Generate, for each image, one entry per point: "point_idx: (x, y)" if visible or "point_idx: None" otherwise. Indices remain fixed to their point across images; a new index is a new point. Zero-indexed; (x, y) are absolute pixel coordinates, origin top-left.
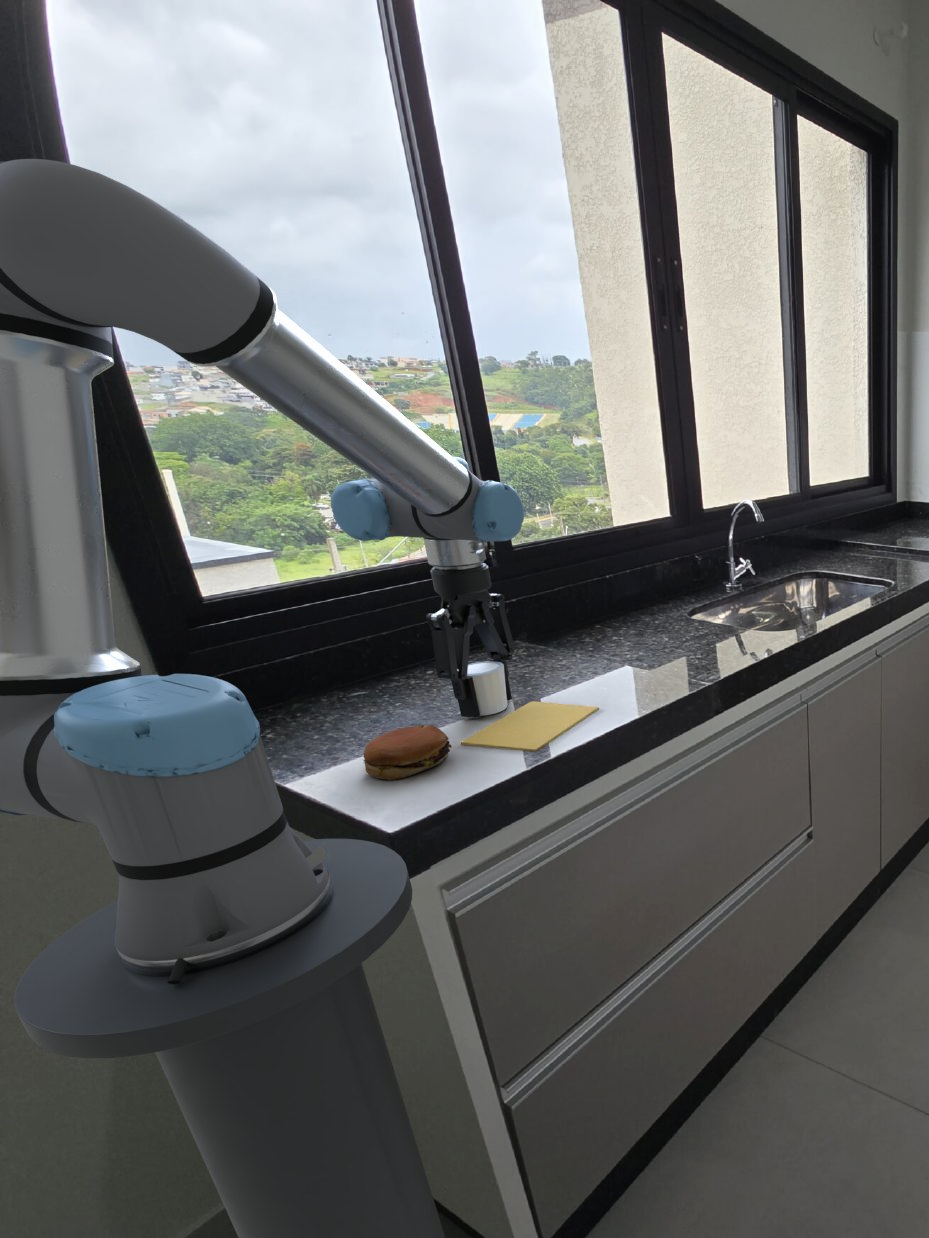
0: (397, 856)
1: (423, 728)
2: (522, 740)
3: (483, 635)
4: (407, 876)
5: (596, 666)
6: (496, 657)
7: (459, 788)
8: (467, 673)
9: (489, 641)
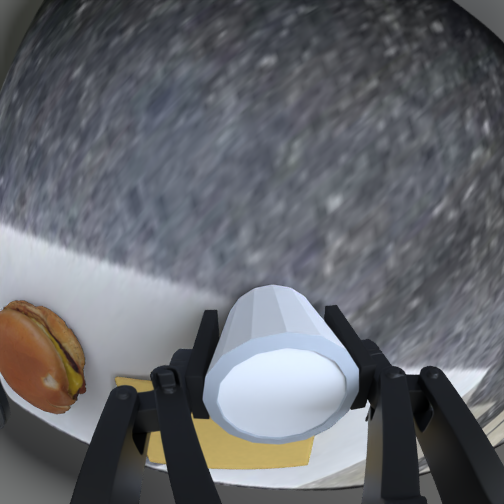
0: (1, 415)
1: (43, 388)
2: (162, 445)
3: (374, 470)
4: (3, 426)
5: (495, 331)
6: (374, 394)
7: (59, 416)
8: (227, 397)
9: (372, 452)
